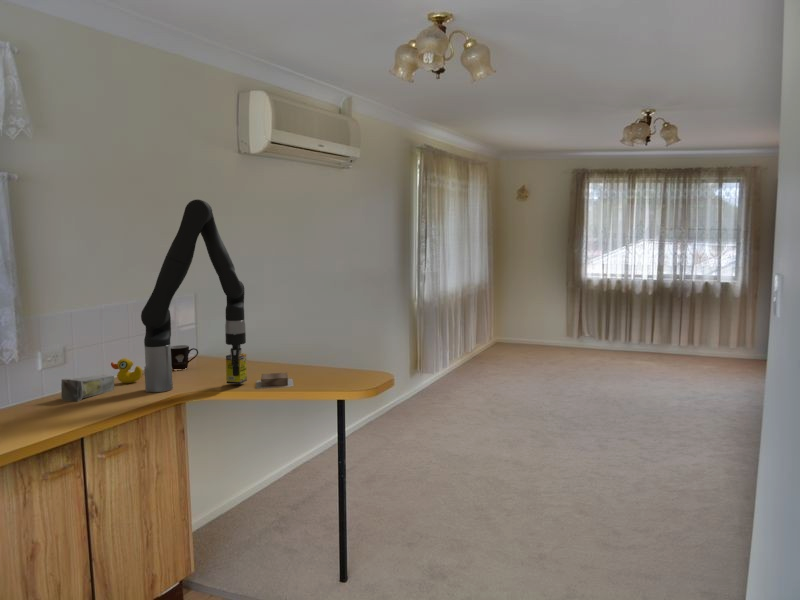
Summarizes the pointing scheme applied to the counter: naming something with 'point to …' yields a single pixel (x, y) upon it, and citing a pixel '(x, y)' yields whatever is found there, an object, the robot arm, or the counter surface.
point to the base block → (274, 379)
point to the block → (86, 387)
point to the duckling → (124, 373)
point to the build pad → (258, 386)
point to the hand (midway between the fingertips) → (236, 373)
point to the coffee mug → (180, 356)
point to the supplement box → (242, 370)
